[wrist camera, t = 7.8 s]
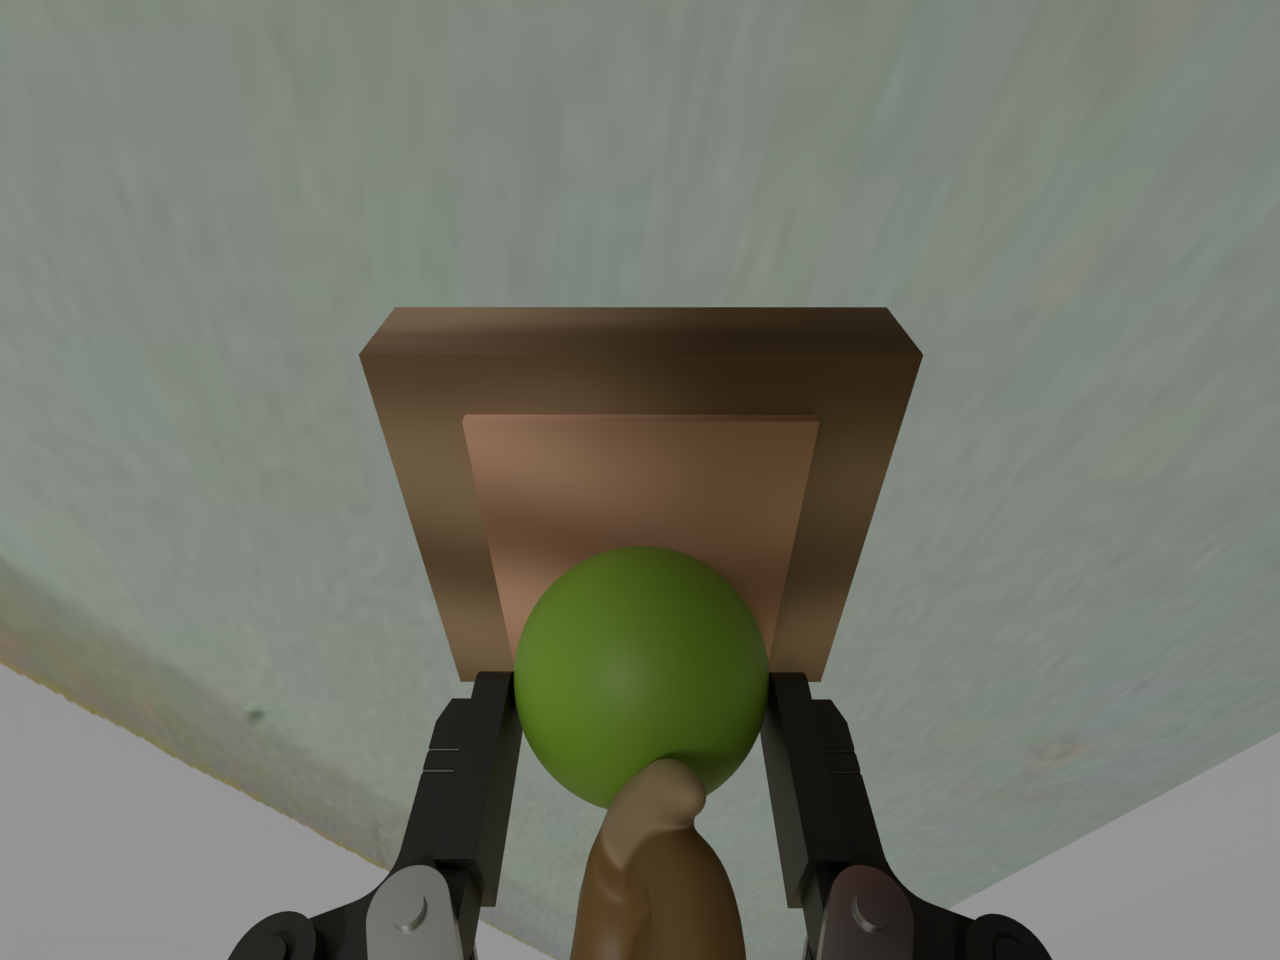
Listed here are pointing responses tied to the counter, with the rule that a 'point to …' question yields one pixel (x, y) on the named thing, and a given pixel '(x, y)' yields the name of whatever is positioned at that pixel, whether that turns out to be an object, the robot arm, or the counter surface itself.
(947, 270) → the counter surface
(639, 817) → the snail figurine
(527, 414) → the display plinth
